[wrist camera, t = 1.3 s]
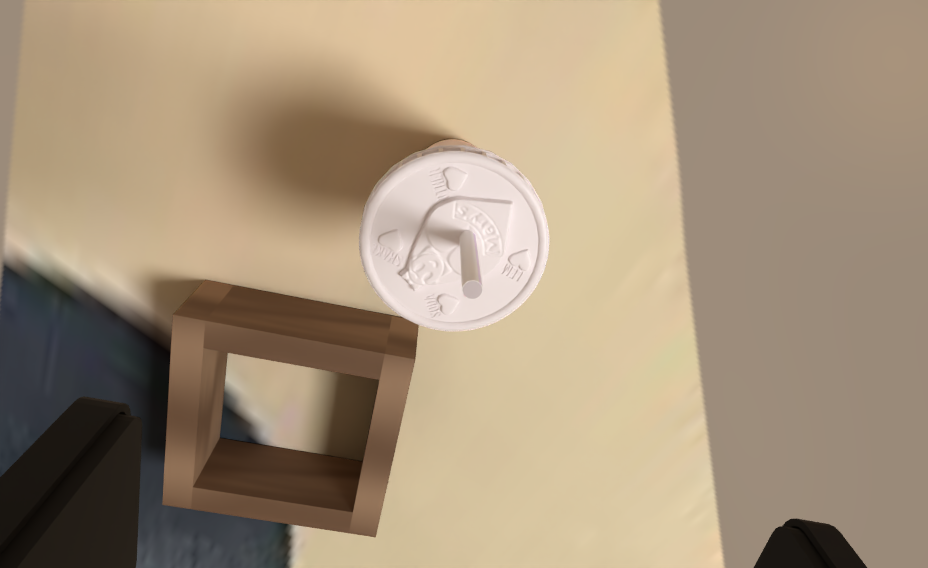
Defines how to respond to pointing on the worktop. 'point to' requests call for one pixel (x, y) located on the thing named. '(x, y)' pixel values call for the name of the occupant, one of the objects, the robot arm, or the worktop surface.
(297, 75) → the worktop surface
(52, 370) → the worktop surface
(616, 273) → the worktop surface
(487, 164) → the smoothie
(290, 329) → the wooden frame
